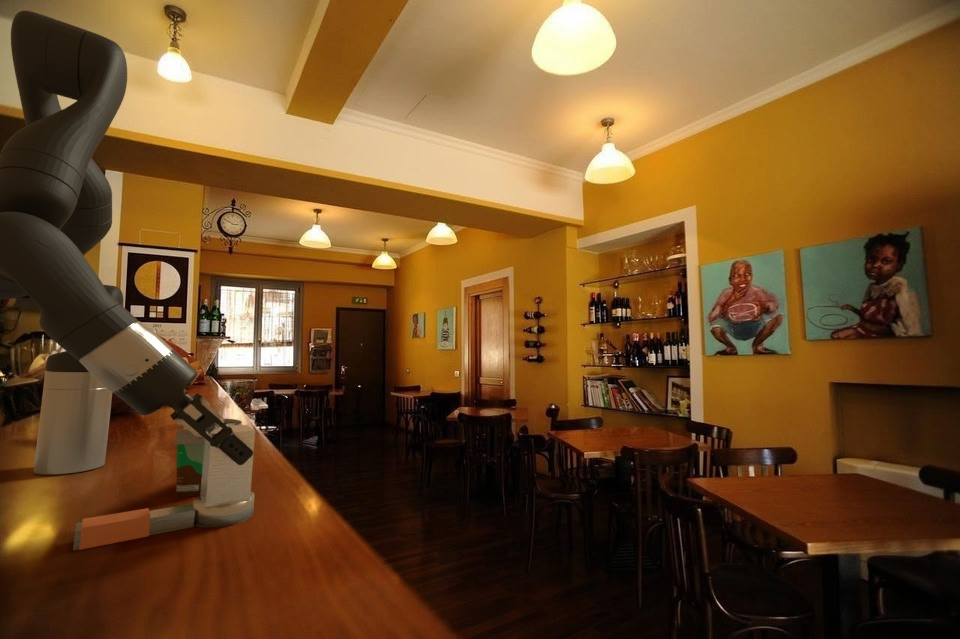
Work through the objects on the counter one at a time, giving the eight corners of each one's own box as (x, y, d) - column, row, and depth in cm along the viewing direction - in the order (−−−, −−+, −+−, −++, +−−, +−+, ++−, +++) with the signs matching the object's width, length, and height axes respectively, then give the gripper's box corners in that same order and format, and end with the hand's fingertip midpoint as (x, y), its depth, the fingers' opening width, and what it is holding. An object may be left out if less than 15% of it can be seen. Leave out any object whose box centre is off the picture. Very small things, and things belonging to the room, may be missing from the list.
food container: (210, 501, 62) (216, 431, 63) (168, 499, 63) (175, 430, 63) (255, 477, 75) (260, 419, 76) (221, 476, 75) (226, 418, 76)
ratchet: (75, 535, 50) (80, 486, 51) (246, 504, 62) (249, 465, 62) (71, 557, 45) (77, 503, 45) (259, 519, 57) (262, 476, 57)
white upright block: (200, 496, 57) (206, 427, 58) (242, 489, 60) (247, 425, 61) (205, 507, 53) (211, 434, 54) (249, 499, 57) (255, 430, 57)
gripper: (176, 347, 48) (277, 440, 55) (165, 346, 59) (250, 424, 66) (110, 396, 45) (226, 490, 51) (110, 385, 55) (206, 464, 62)
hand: (239, 452), depth 58 cm, fingers open, 8 cm apart
